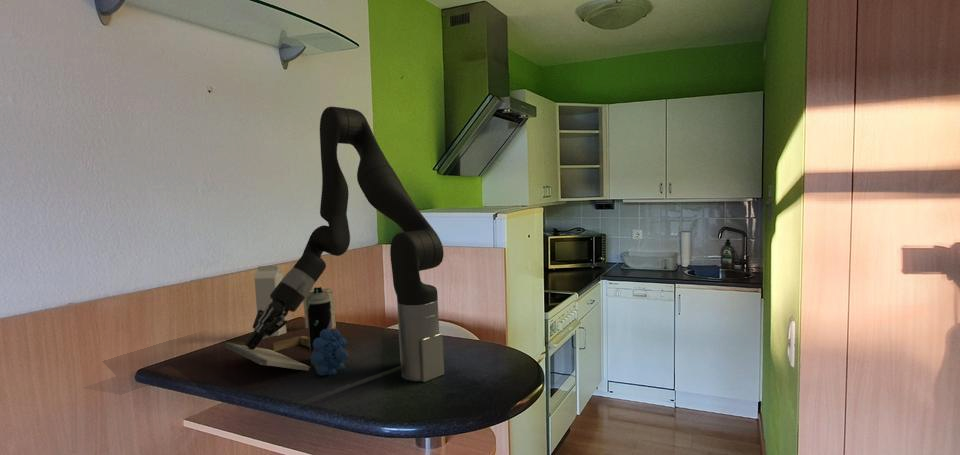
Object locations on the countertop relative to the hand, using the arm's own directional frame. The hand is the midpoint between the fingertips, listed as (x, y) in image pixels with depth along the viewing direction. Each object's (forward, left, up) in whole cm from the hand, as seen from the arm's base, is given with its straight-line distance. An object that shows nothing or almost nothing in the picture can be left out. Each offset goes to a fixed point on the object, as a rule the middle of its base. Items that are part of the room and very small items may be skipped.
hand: (248, 347), depth 121 cm
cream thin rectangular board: (-5, -7, -4) cm, 10 cm away
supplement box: (+19, -29, -6) cm, 35 cm away
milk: (+24, -16, -6) cm, 29 cm away
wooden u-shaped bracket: (-5, -12, -6) cm, 14 cm away
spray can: (-13, -12, -6) cm, 19 cm away
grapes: (-22, -10, -6) cm, 25 cm away
